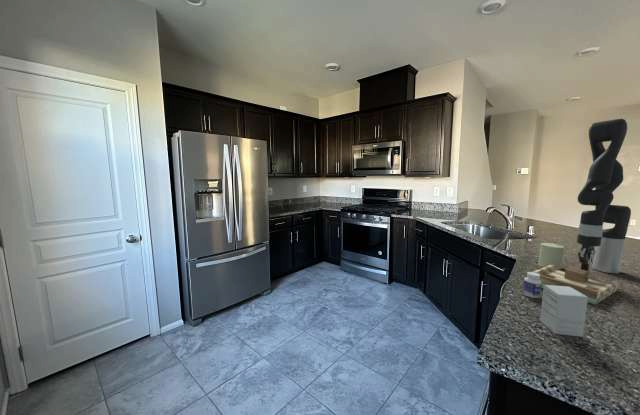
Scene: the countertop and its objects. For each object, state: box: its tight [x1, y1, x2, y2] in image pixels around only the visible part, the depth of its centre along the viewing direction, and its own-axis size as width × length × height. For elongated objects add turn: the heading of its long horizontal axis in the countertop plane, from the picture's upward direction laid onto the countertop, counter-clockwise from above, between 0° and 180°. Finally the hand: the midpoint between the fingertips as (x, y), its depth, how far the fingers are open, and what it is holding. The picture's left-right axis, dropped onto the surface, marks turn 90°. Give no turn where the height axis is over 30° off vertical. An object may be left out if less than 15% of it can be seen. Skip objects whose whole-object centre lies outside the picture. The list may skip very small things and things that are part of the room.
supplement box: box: [539, 285, 588, 338], centre depth 78 cm, size 7×7×13 cm
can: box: [537, 242, 565, 270], centre depth 132 cm, size 9×9×12 cm
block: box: [564, 266, 590, 283], centre depth 111 cm, size 6×6×4 cm
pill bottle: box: [522, 271, 542, 299], centre depth 100 cm, size 5×5×9 cm
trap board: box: [525, 265, 620, 305], centre depth 109 cm, size 26×22×5 cm
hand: (584, 271), depth 115 cm, fingers closed
